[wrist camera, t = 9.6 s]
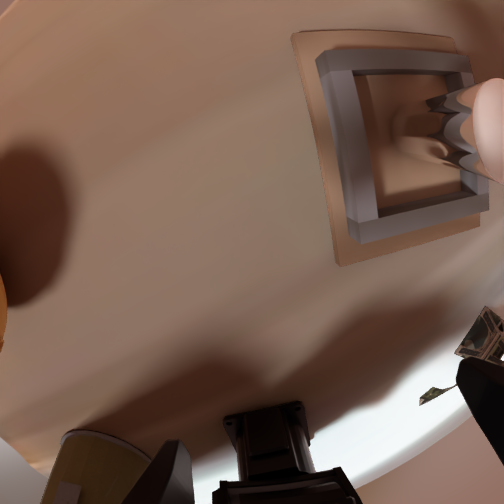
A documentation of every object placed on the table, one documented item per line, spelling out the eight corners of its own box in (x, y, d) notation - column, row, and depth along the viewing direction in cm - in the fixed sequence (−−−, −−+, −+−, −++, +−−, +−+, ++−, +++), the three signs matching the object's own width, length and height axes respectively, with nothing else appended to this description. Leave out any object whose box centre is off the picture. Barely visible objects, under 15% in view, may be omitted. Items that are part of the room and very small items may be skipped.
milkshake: (409, 192, 17) (536, 234, 8) (366, 116, 16) (497, 99, 6) (453, 155, 17) (575, 176, 7) (416, 84, 15) (541, 61, 6)
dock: (473, 223, 19) (495, 232, 17) (335, 262, 19) (350, 278, 17) (446, 40, 15) (468, 33, 13) (290, 37, 15) (300, 21, 12)
